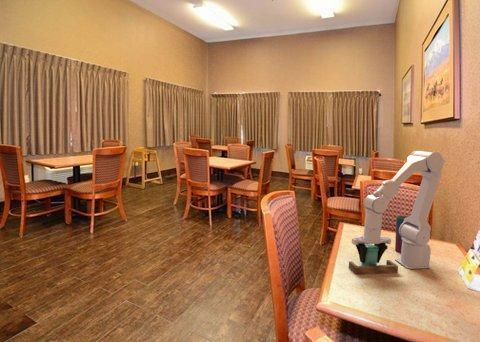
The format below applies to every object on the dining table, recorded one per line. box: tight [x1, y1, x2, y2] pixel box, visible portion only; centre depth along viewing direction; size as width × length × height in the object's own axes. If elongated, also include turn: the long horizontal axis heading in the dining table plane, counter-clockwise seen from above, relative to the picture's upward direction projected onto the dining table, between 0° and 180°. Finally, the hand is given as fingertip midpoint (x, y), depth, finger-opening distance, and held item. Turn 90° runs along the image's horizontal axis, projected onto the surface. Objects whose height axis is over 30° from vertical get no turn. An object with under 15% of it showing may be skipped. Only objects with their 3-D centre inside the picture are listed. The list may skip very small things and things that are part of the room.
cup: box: [394, 214, 410, 254], centre depth 126 cm, size 7×7×15 cm
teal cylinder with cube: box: [361, 244, 379, 266], centre depth 112 cm, size 6×8×8 cm
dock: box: [348, 259, 399, 275], centre depth 109 cm, size 16×5×2 cm, turn 98°
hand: (369, 262), depth 111 cm, fingers closed on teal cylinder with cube, 5 cm apart
